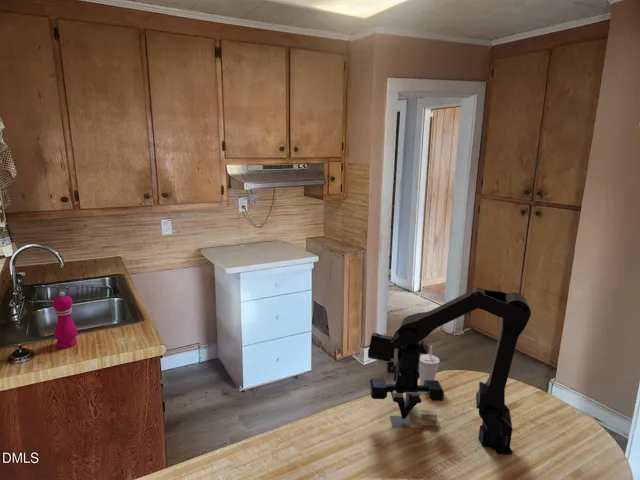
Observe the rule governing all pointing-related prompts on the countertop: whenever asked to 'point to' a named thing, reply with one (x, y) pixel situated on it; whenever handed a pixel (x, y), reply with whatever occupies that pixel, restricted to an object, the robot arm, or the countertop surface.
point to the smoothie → (428, 366)
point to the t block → (422, 417)
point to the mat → (404, 423)
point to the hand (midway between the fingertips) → (403, 417)
